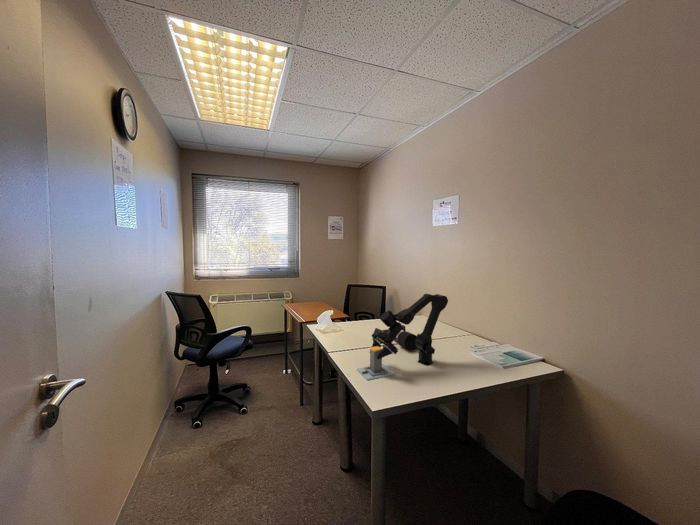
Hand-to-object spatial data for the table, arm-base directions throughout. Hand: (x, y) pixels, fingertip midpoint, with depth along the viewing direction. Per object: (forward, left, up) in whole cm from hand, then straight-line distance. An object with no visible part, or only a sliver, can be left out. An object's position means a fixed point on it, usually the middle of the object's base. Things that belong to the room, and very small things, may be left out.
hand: (373, 356), depth 139 cm
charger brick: (0, -1, -8) cm, 8 cm away
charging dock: (0, -1, -9) cm, 9 cm away
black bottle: (+20, -44, -9) cm, 49 cm away
